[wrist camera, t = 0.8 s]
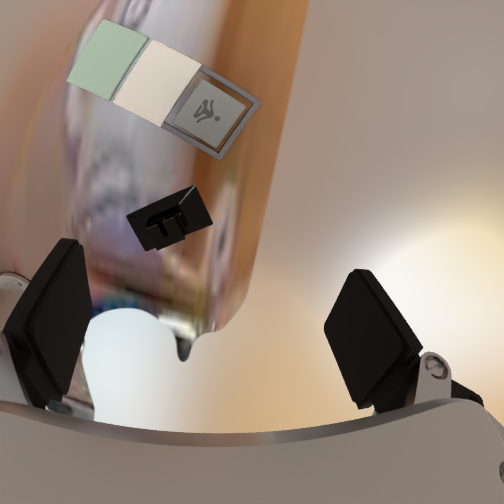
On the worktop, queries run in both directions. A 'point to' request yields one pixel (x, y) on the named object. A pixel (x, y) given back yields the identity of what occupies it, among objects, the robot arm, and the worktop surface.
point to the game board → (144, 77)
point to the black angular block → (170, 219)
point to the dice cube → (209, 113)
